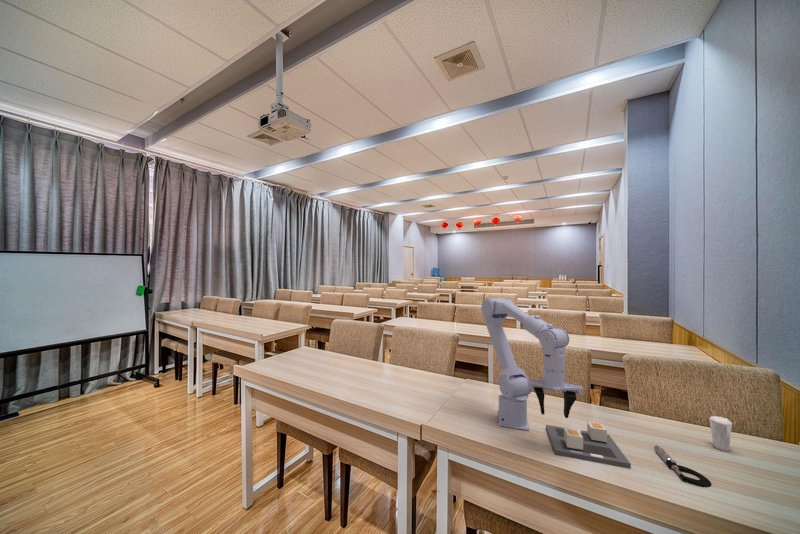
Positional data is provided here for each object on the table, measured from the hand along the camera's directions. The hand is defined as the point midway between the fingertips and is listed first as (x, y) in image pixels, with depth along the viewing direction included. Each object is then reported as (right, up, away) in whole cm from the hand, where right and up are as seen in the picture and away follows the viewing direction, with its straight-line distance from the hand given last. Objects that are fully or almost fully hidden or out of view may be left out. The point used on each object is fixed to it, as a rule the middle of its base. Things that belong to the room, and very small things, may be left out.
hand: (554, 414), depth 86 cm
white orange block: (+14, -8, +2) cm, 17 cm away
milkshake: (+51, -11, +1) cm, 52 cm away
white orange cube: (+5, -8, -2) cm, 9 cm away
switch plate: (+9, -10, 0) cm, 13 cm away
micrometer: (+30, -10, -9) cm, 33 cm away
